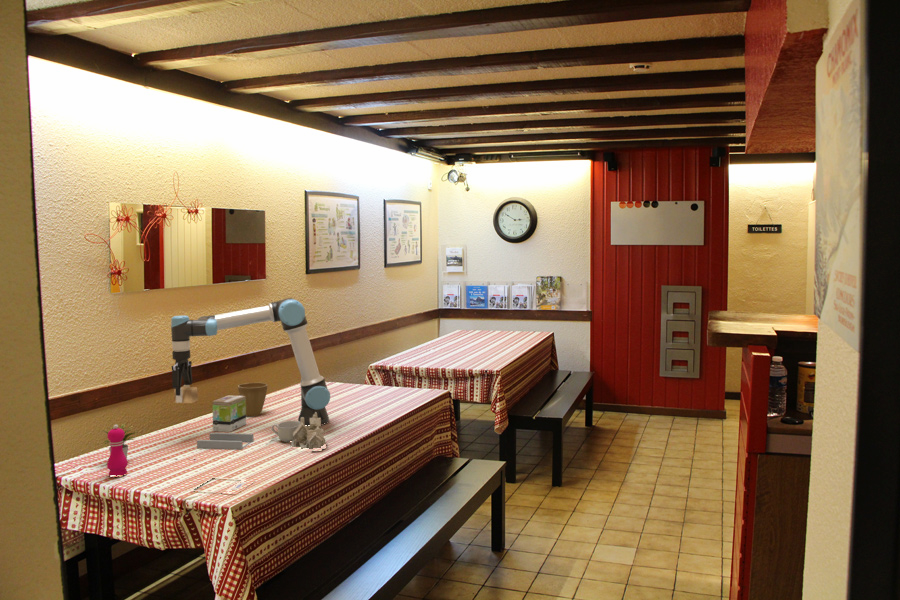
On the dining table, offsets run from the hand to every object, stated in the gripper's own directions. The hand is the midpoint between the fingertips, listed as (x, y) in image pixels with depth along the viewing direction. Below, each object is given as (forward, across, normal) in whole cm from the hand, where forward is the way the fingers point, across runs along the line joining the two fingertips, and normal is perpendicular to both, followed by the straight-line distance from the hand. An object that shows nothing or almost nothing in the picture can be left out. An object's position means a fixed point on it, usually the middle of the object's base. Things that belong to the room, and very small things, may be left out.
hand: (183, 400), depth 307 cm
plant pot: (+19, -51, +11) cm, 56 cm away
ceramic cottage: (+19, +4, +59) cm, 63 cm away
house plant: (+19, +32, -12) cm, 39 cm away
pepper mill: (+19, +47, -2) cm, 51 cm away
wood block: (-3, 0, +6) cm, 6 cm away
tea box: (+19, -25, +10) cm, 33 cm away
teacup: (+19, -6, +46) cm, 50 cm away
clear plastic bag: (+19, +55, +45) cm, 74 cm away
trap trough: (+19, +7, +23) cm, 30 cm away
